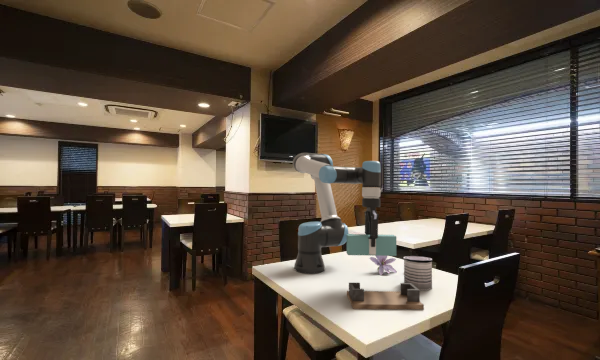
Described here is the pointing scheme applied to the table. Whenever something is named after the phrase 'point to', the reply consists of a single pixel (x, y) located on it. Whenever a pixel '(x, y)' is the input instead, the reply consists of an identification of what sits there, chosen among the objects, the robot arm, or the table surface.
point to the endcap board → (385, 298)
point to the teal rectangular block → (360, 245)
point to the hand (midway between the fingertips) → (370, 252)
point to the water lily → (383, 264)
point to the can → (418, 272)
